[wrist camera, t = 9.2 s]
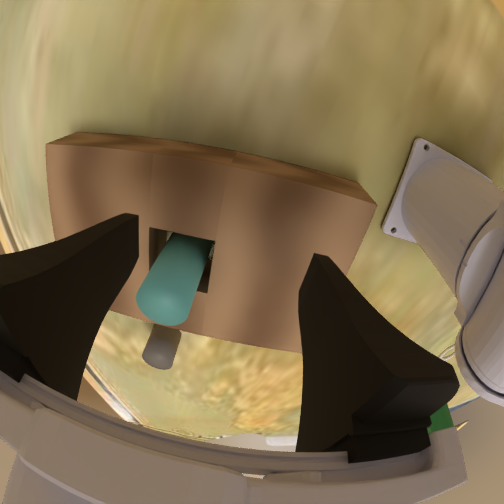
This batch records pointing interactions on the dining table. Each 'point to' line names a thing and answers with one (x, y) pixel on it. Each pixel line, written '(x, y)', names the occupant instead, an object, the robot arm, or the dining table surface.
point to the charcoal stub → (161, 347)
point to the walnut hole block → (213, 224)
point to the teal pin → (174, 279)
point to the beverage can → (440, 420)
